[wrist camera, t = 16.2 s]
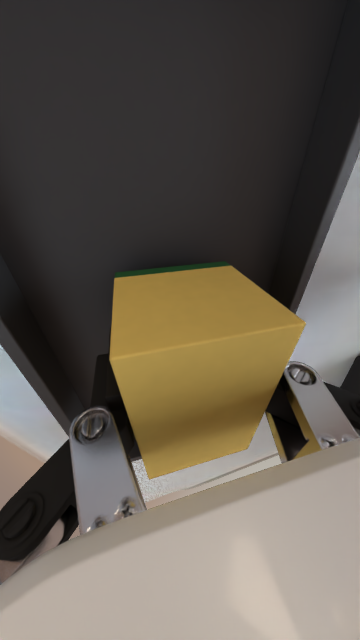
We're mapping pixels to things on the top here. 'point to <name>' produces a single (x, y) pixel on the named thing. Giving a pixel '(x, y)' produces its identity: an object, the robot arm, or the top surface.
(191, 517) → the robot arm
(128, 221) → the black shallow rectangular tray
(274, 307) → the sponge
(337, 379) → the top surface
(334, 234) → the top surface
